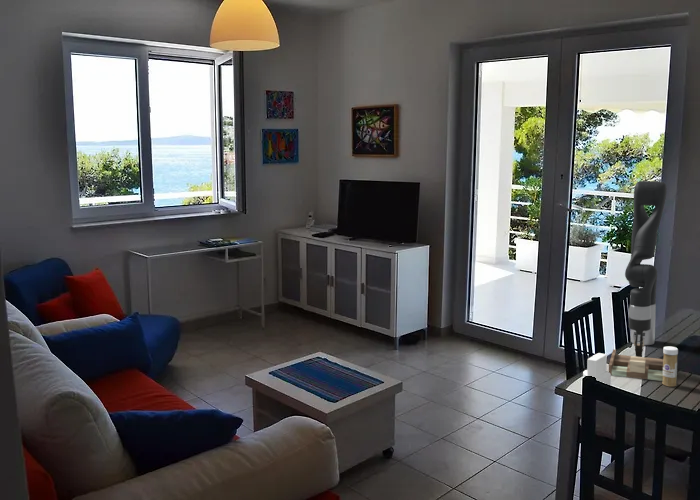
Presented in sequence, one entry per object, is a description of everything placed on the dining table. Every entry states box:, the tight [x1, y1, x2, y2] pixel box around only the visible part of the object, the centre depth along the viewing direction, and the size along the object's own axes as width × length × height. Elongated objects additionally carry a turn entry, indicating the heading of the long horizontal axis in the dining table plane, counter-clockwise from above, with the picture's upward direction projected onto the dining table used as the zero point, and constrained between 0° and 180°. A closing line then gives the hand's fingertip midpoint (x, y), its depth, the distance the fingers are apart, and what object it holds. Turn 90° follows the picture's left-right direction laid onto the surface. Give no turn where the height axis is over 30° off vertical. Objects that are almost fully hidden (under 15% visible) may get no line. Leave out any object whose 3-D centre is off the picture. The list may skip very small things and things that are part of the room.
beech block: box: [630, 355, 646, 373], centre depth 228 cm, size 6×5×4 cm
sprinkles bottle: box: [661, 345, 679, 387], centre depth 217 cm, size 5×5×13 cm
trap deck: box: [608, 349, 664, 382], centre depth 233 cm, size 19×19×4 cm
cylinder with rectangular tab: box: [582, 352, 612, 385], centre depth 215 cm, size 9×9×12 cm
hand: (638, 360), depth 235 cm, fingers closed
